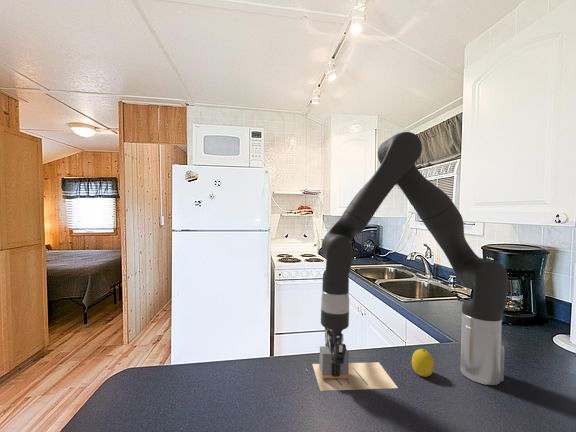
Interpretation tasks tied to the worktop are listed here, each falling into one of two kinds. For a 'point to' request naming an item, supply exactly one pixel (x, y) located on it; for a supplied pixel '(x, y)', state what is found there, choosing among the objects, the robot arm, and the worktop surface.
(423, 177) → the robot arm
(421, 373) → the lemon
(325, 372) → the block
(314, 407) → the worktop surface
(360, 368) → the board
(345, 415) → the worktop surface
